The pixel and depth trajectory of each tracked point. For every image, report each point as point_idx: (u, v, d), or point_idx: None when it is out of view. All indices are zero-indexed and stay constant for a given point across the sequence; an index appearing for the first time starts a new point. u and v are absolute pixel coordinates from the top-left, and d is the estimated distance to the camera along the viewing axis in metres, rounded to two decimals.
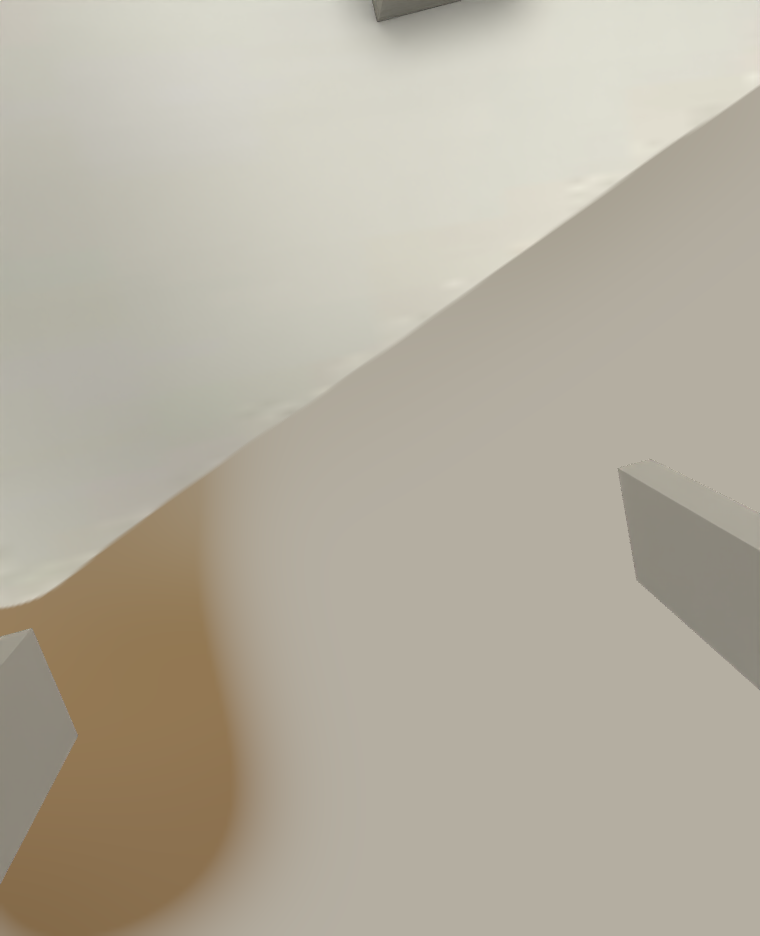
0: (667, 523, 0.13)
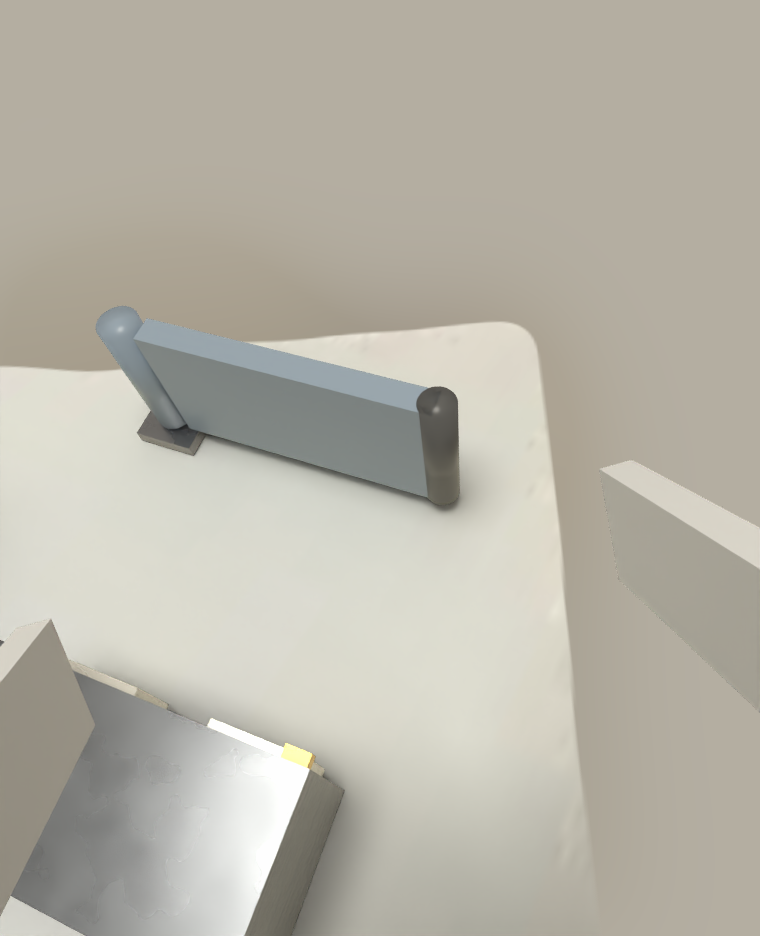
0: (644, 523, 0.14)
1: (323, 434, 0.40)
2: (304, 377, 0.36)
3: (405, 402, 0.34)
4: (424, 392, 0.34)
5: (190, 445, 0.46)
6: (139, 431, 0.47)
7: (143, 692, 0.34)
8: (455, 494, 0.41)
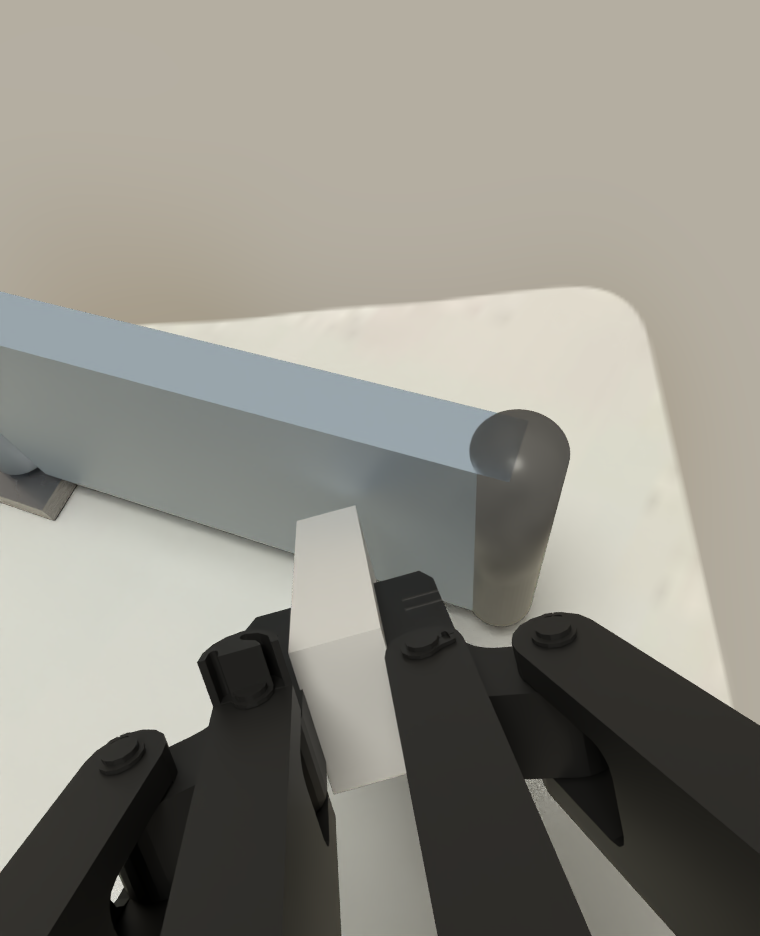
0: None
1: (269, 500, 0.20)
2: (212, 390, 0.16)
3: (443, 447, 0.14)
4: (487, 423, 0.15)
5: (45, 504, 0.26)
6: None
7: None
8: (527, 608, 0.21)
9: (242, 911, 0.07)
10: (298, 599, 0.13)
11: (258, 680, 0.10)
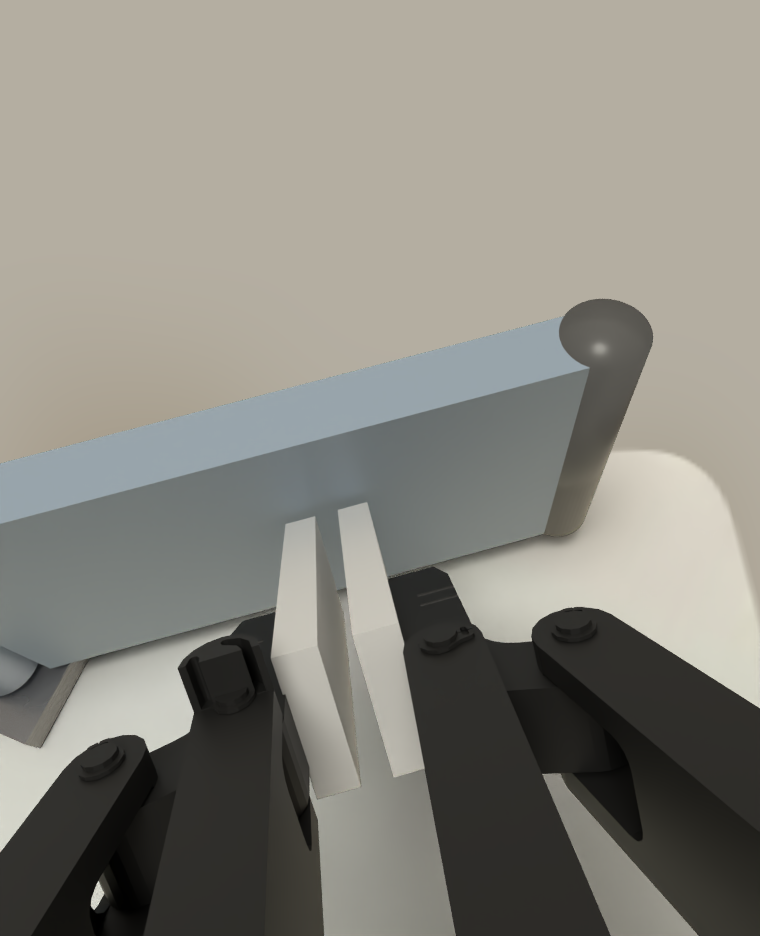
0: None
1: None
2: (305, 430, 0.15)
3: (546, 363, 0.15)
4: (563, 327, 0.16)
5: (29, 736, 0.22)
6: None
7: None
8: None
9: (224, 917, 0.07)
10: (283, 603, 0.13)
11: (239, 685, 0.10)
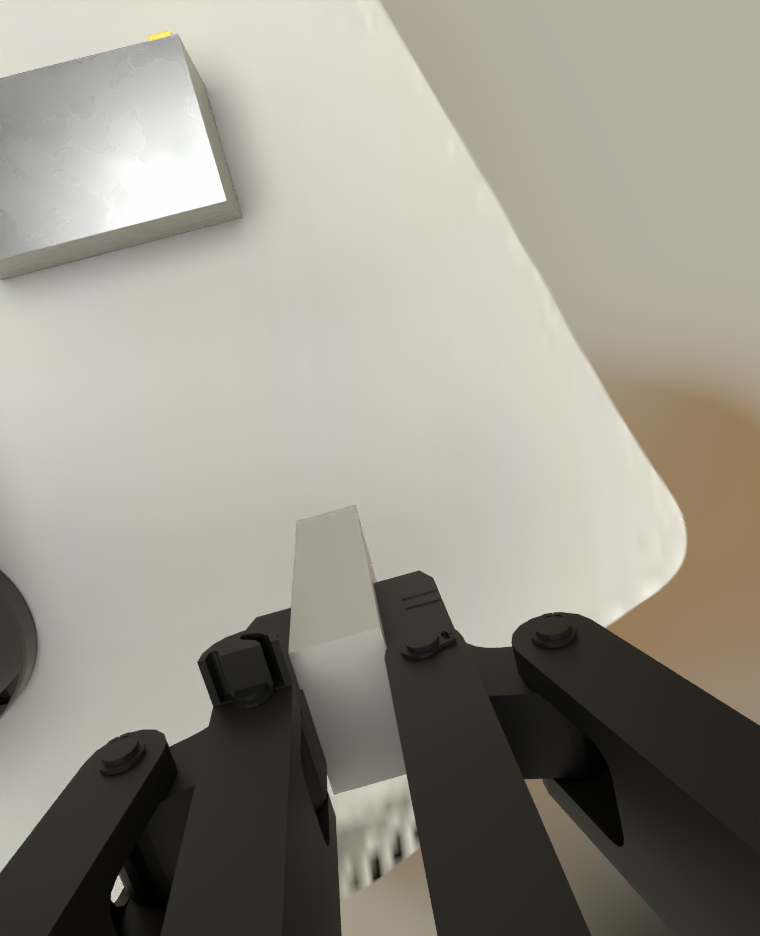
0: None
1: None
2: None
3: None
4: None
5: None
6: None
7: None
8: None
9: (242, 911, 0.07)
10: (298, 599, 0.13)
11: (258, 680, 0.10)
